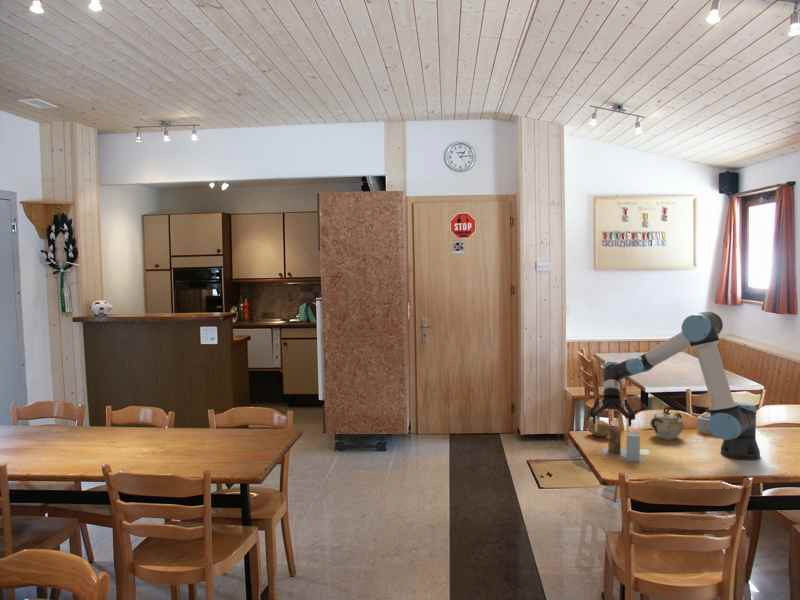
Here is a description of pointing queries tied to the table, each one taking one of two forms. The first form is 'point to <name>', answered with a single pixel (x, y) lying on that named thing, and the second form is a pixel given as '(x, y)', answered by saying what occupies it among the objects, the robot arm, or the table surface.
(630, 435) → the bluegrey block
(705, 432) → the lumpy-topped squat cylinder
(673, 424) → the sugar bowl
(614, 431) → the walnut block
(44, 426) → the table surface
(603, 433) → the potato
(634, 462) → the code tile
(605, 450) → the code tile
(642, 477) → the table surface
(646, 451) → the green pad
